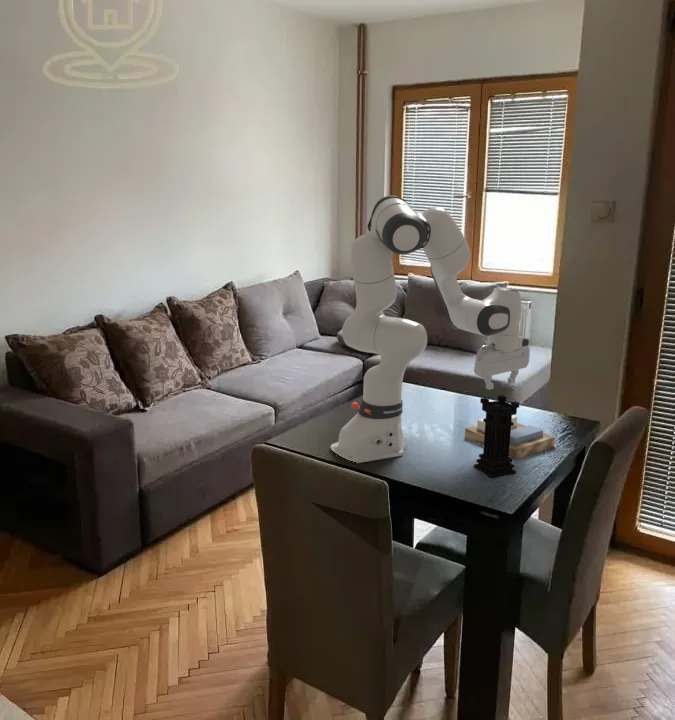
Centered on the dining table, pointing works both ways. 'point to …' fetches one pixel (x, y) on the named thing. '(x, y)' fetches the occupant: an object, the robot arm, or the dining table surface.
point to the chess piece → (497, 438)
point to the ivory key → (482, 424)
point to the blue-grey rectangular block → (525, 434)
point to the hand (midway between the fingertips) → (500, 386)
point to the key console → (515, 450)
